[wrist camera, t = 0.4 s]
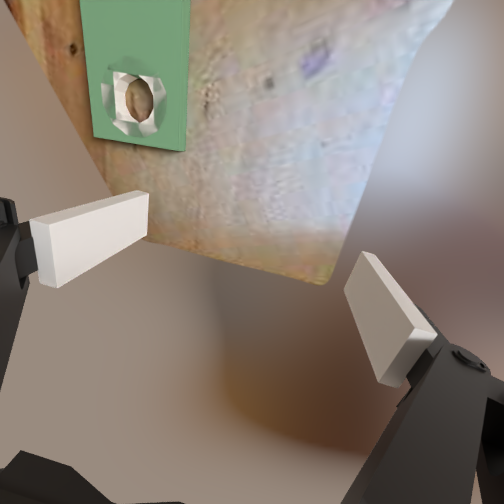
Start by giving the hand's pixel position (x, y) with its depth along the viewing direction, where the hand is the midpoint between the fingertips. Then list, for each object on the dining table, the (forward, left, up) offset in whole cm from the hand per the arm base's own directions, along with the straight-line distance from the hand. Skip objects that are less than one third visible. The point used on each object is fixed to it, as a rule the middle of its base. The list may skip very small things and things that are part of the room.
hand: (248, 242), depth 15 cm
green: (-16, -22, -27) cm, 38 cm away
